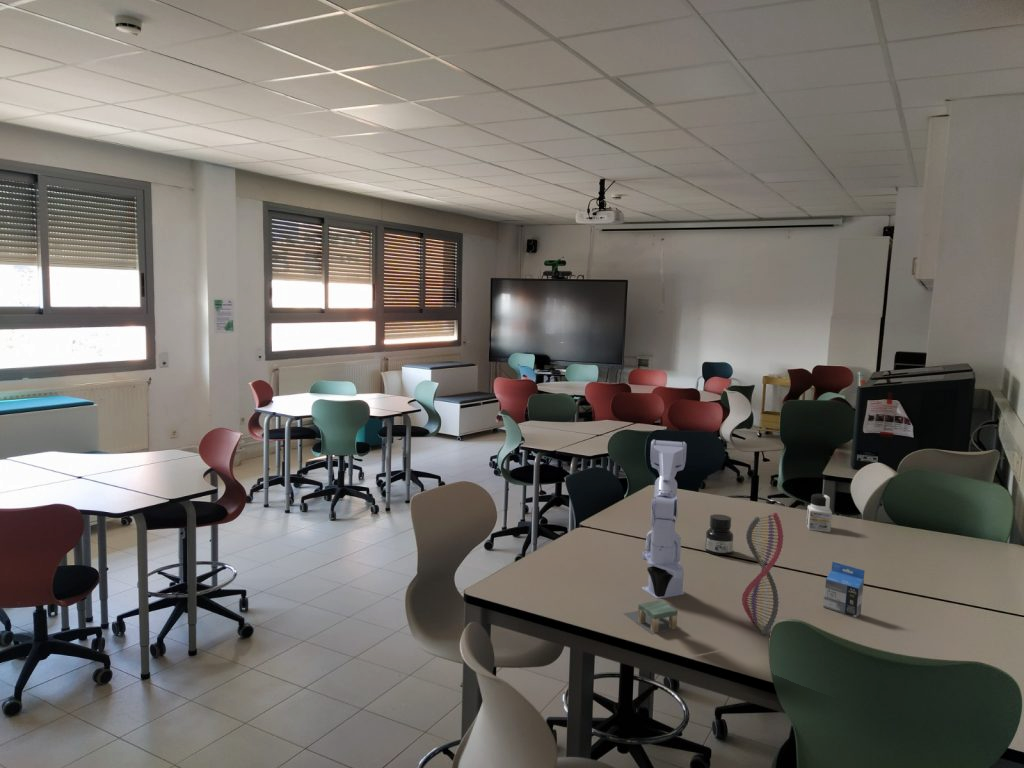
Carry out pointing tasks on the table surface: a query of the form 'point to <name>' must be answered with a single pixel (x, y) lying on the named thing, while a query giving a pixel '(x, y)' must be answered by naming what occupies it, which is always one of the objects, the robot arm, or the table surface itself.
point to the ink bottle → (719, 535)
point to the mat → (647, 625)
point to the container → (819, 513)
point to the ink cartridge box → (844, 590)
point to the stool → (657, 614)
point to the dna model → (763, 571)
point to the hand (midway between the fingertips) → (659, 595)
